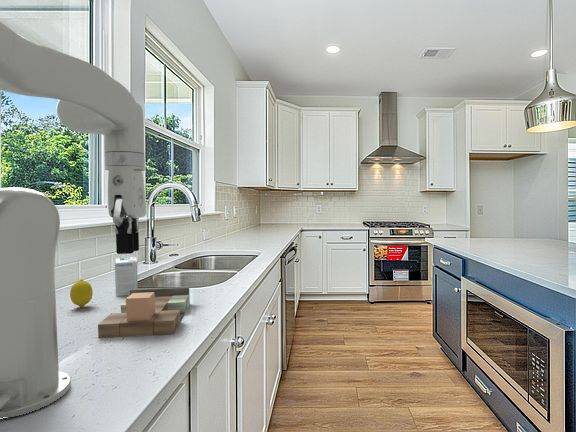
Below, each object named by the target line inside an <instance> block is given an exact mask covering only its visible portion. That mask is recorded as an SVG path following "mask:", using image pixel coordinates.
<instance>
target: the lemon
mask: <svg viewBox="0 0 576 432" xmlns="http://www.w3.org/2000/svg"><path fill="white" fill-rule="evenodd" d="M93 292H94V291H93V287H92V285H91V283H90V282H88V281H86V280H84V279H79V280H77V281H76V282H74V283H73V284H72V285H71V288H70V291H69V297H70V300H71V302H72V304H74V305H75V306H78V307H80V308H84V307H85V306H86V305H87V304H89V303H90V302H91V300H92V298H93V294H94V293H93Z"/></svg>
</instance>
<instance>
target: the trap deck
mask: <svg viewBox="0 0 576 432" xmlns="http://www.w3.org/2000/svg"><path fill="white" fill-rule="evenodd" d="M147 292H155V314H154V315H153V316H152V318H151V319H150V320H134V321H127V319H126V300H125V301H123V302H122V303H121V305H120V312H112V313H111V312H110V314H109V315H107V316H106V317H105V318H104V319H102V321H101V322H99V323H97V331H98V332H97V335H98V336H97V337H98V339H107V338H124V337H125V338H127V337H139V336H140V337H141V336H143V337H144V336H157V335H174V334H175V333H176V331H177V330H178V327H179V325H180V324H181V320H182V319H183V317H184V315H185V313H186V312H187V310H188V309H189V306H190V305H191V304H190V303H191V300H190V299H191V298H190V297H191V296H190V286H178V287H177V286H174V287H156V288H155V287H154V288H153V287H152V288H151V287H150V288H138V289H131V290H130V295H131V294H132V293H147ZM130 295H129V296H130Z"/></svg>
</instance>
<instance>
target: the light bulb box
mask: <svg viewBox="0 0 576 432" xmlns="http://www.w3.org/2000/svg"><path fill="white" fill-rule="evenodd" d="M114 261H115V262H114V283H115V284H114V286H115V297H122V296H123V297H124V296H130V290H131V289H139V287H138V285H139V283H138V279H139V278H138V260H137V257H136V256H133V257H132V256H131V257H122V258H121V257H120V258H115V260H114Z"/></svg>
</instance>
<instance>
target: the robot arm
mask: <svg viewBox="0 0 576 432" xmlns="http://www.w3.org/2000/svg"><path fill="white" fill-rule="evenodd" d="M0 91H2V92H5V93H6V92H7V93H10V94H15V95H19V96H20V95H21V96H24V97H25V96H26V97H35V98H36V97H37V98H46V99H53V100H58V101H57V104H56V115H57V117H58V119H59V120H60V122H61V123H62V124H63V125H64V126H65V127H66V128H67V129H69V130H71V131H73V132H75V133H80V134H90V135H91V134H96V135H103V144H104V145H103V146H104V170H105V171H108V175H107V177H108V178H107V206H108V208H107V209H108V214H109V216H110V218H112V222H113V223H114V231H115V248H116V251H115V252H116V254H118V255H127V254H128V255H129V254H133V253H134V252H138V251H140V233H139V229H140V228H139V227H140V226H139V219H140V218H144V217H145V216H146V215H147V205H146V204H147V203H146V193H145V191H146V190H145V183H144V181H145V180H144V176H143V175H144V174H143V172H145V171H146V162H145V161H146V159H145V158H146V156H145V126H144V124H145V123H144V109H143V107H142V105H140V103H138V102H136V100H135V98H134V96H133V95H132V94H131V92H130V91H129V90H128V89H127V88H126V87H125V85H123V84H121V82H119V81H118V80H117V79H115V78H114V76H113V77H112V76H111V75H110V74H109V73H107V72H106V71H104V70H103V69H101V68H99V67H98V66H96V65H94V64H92V63H89V62H88V61H86V60H83V59H81V58H77V57H75V56H72V55H69V54H66V53H64V52H61V51H59V50H57V49H53V48H51V47H47V46H44V45H41V44H39V43H38V44H37V43H35V42H33V41H32V40H28V39H27V38H25V37H23V36H22V35H20V34H19V33H17V32H16V31H15V30H13V29H12V28H10V27H9V26H7V25H6V24H4V23H3V22H1V21H0ZM60 227H61V220H60V213H59V210H58V208H57V206H56V204H55V203H54V201H52V199H50V198H49V197H48V196H47V195H45V194H44V193H42V192H41V191H40V192H39V191H37V190H34V189H30V188H26V187H0V418H3V417H13V416H17V417H20V416H24V415H27V414H30V413H33V412H36V411H38V410H41V409H43V408H45V407H47V406H49V405H51V404H53V403H55V402H56V401H58V400H59V399H61V398H62V397H64V396H65V395H66V394H67V392H68V391H69V390H70V388H71V386H72V385H71V383H72V382H71V381H72V380H71V376H70V375H69V374H68V373H65V372H63V371H60V370H59V369H60V368H59V350H58V349H59V347H58V346H59V345H58V326H57V325H58V322H57V321H58V320H57V301H56V300H57V298H56V297H57V295H56V281H55V280H56V279H55V278H56V277H55V275H56V274H55V271H56V269H55V267H56V266H55V261H56V250H57V244H58V239H59V235H60ZM60 397H61V398H60ZM57 399H58V400H57ZM54 401H55V402H54ZM50 403H51V404H50ZM44 406H45V407H44ZM42 407H43V408H42ZM40 408H41V409H40ZM35 410H36V411H35ZM32 411H33V412H32ZM29 412H30V413H29ZM26 413H27V414H26ZM23 414H24V415H23ZM19 415H20V416H19ZM13 418H14V417H13Z"/></svg>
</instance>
